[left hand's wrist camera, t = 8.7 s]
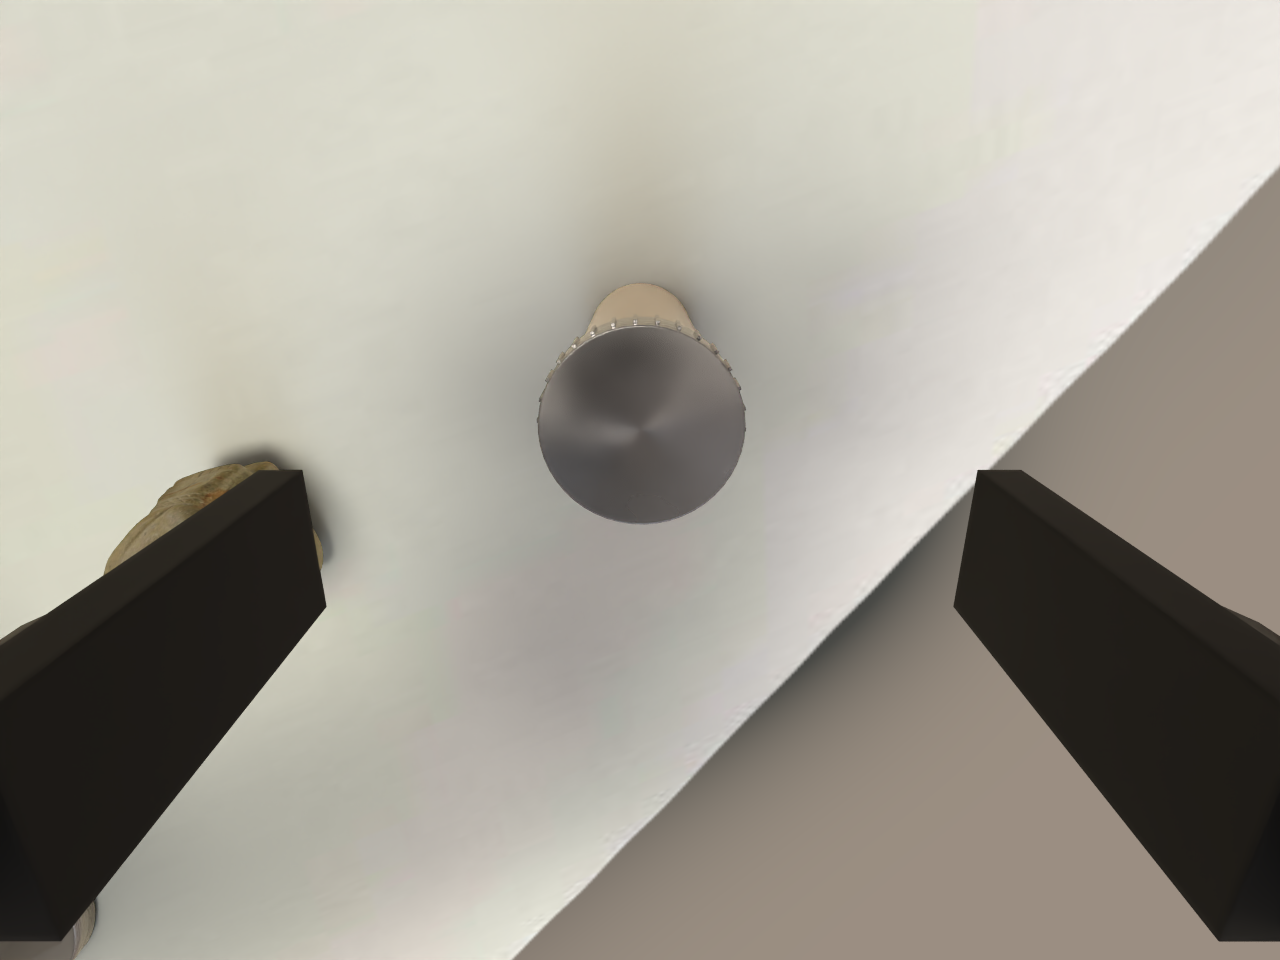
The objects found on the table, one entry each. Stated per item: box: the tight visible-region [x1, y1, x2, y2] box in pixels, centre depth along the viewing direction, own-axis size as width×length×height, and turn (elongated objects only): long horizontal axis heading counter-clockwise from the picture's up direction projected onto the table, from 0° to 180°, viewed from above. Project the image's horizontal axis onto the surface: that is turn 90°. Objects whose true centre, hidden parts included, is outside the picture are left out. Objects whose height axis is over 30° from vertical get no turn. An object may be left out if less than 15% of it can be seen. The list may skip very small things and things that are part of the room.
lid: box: [537, 314, 746, 524], centre depth 20 cm, size 6×6×2 cm
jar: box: [585, 283, 695, 334], centre depth 27 cm, size 5×5×15 cm
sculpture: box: [104, 462, 323, 575], centre depth 30 cm, size 6×7×15 cm
